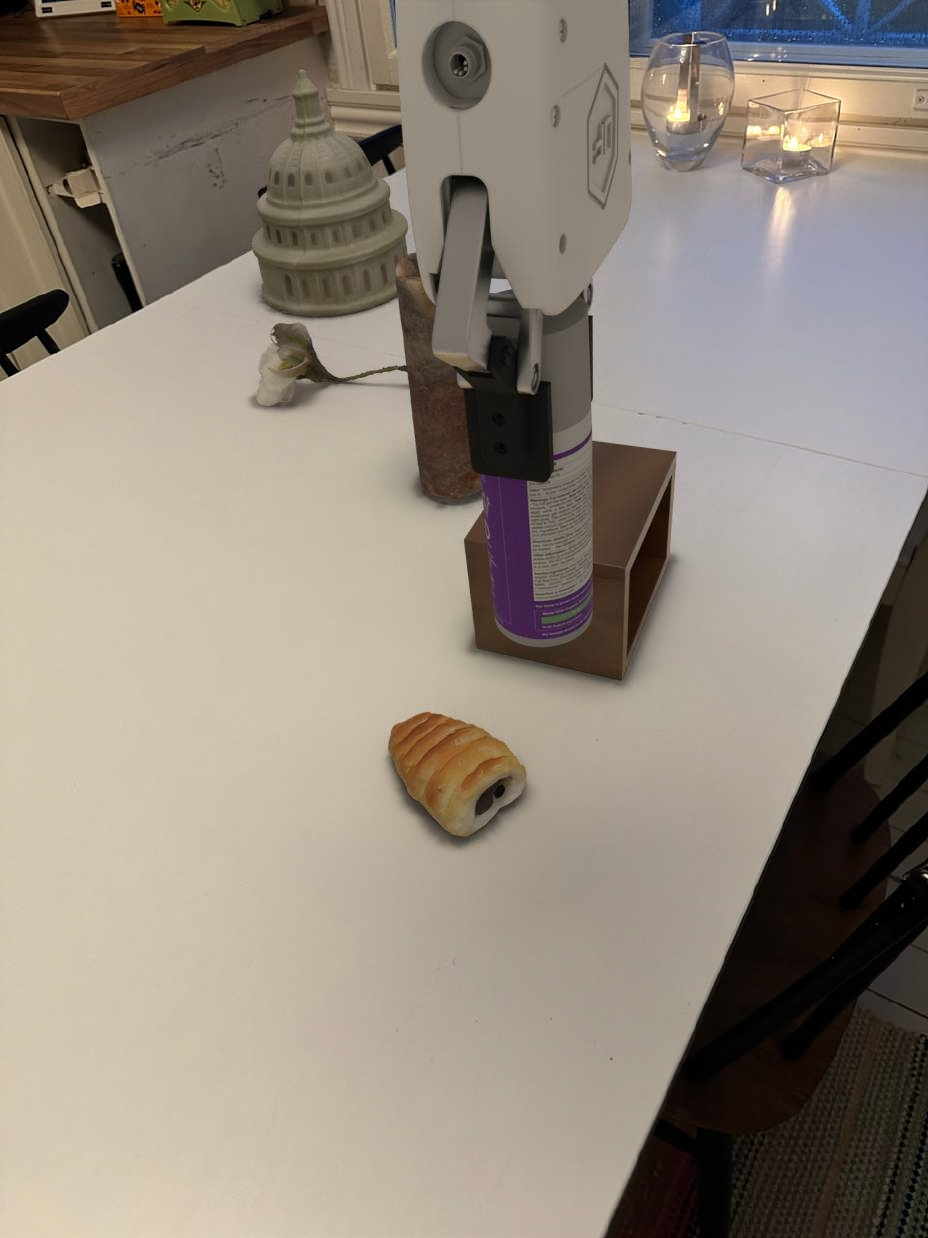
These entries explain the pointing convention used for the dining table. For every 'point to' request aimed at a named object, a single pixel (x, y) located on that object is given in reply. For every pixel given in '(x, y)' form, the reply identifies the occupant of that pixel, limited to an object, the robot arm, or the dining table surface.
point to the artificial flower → (295, 365)
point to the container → (547, 501)
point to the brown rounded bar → (433, 395)
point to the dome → (325, 221)
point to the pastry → (455, 770)
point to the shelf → (599, 562)
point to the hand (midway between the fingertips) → (534, 433)
